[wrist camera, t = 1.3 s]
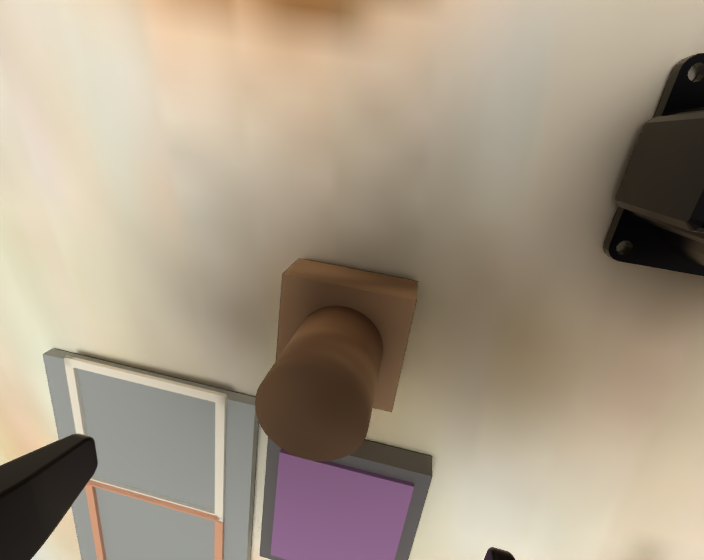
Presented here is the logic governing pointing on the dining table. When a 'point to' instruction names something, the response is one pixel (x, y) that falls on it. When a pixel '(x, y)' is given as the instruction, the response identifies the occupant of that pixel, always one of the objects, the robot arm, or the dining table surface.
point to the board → (157, 461)
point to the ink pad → (343, 504)
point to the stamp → (334, 357)
